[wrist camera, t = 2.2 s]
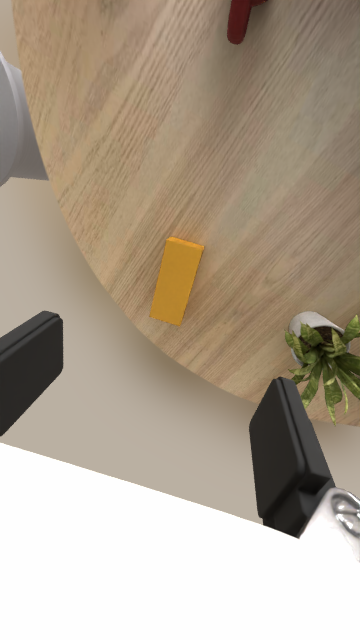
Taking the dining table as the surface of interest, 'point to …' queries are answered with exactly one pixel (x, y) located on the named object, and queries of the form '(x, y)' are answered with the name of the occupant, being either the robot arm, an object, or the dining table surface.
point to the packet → (175, 280)
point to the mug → (240, 19)
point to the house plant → (324, 357)
